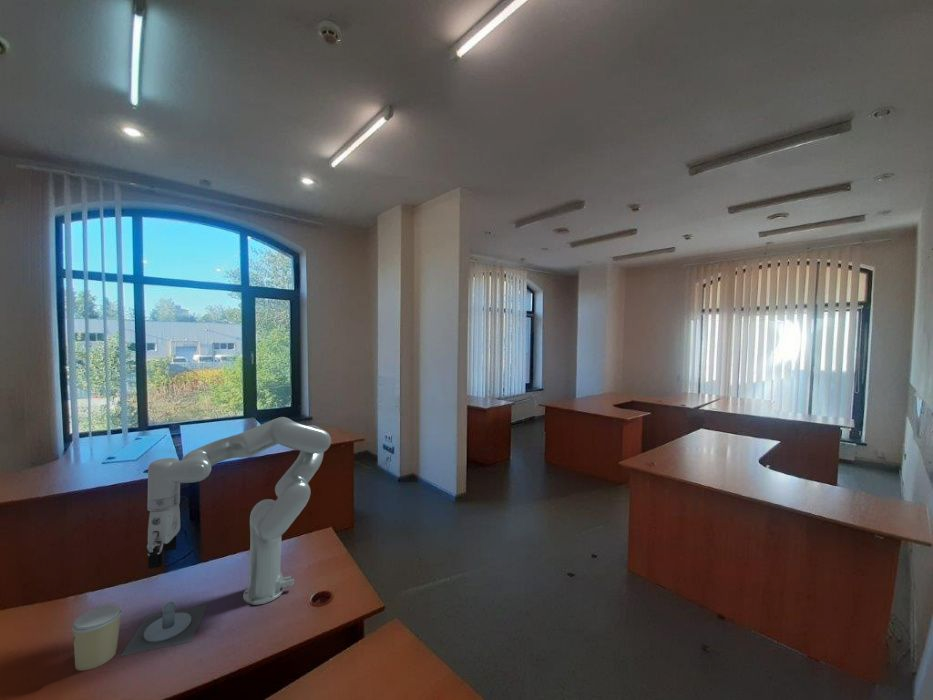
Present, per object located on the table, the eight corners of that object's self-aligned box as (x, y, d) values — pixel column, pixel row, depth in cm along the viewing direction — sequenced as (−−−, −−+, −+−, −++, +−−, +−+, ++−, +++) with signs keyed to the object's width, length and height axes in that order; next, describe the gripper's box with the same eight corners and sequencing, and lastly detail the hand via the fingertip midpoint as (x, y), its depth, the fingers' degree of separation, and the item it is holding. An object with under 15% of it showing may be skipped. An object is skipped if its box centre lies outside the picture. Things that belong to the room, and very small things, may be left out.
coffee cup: (93, 647, 103) (95, 603, 103) (129, 645, 104) (131, 602, 104) (59, 676, 94) (61, 628, 94) (99, 674, 95) (101, 627, 95)
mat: (208, 606, 120) (208, 605, 120) (190, 643, 105) (190, 641, 105) (147, 618, 115) (147, 616, 115) (119, 658, 100) (120, 656, 100)
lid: (196, 611, 117) (197, 587, 117) (183, 637, 107) (184, 610, 107) (153, 619, 113) (154, 594, 113) (136, 646, 103) (137, 619, 103)
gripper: (166, 511, 103) (165, 572, 103) (190, 489, 120) (189, 542, 120) (133, 515, 101) (132, 577, 101) (162, 491, 117) (161, 545, 117)
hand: (163, 558), depth 110 cm, fingers open, 9 cm apart
